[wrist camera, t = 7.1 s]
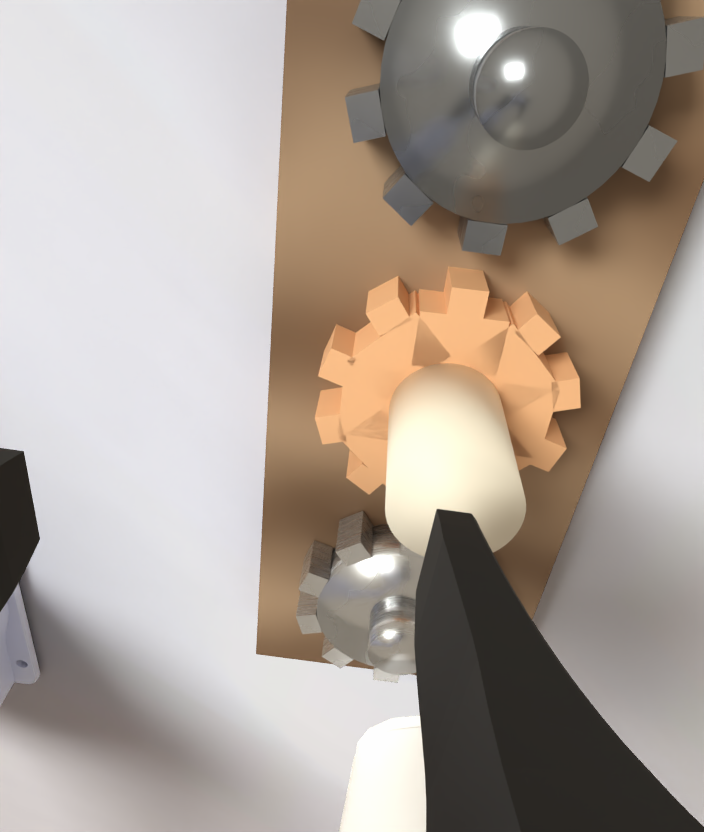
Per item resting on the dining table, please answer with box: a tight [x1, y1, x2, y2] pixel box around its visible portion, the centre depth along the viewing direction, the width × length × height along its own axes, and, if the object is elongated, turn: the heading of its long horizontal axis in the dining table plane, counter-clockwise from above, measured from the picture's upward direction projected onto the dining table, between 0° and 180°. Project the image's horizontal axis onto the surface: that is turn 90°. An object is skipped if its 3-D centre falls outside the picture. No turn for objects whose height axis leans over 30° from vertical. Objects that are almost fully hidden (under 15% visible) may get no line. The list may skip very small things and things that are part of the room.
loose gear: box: [315, 266, 581, 557], centre depth 16 cm, size 7×7×6 cm
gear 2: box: [345, 0, 704, 256], centre depth 13 cm, size 7×7×3 cm
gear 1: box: [296, 511, 424, 683], centre depth 21 cm, size 7×7×3 cm
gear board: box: [256, 0, 704, 675], centre depth 19 cm, size 26×10×3 cm, turn 174°
